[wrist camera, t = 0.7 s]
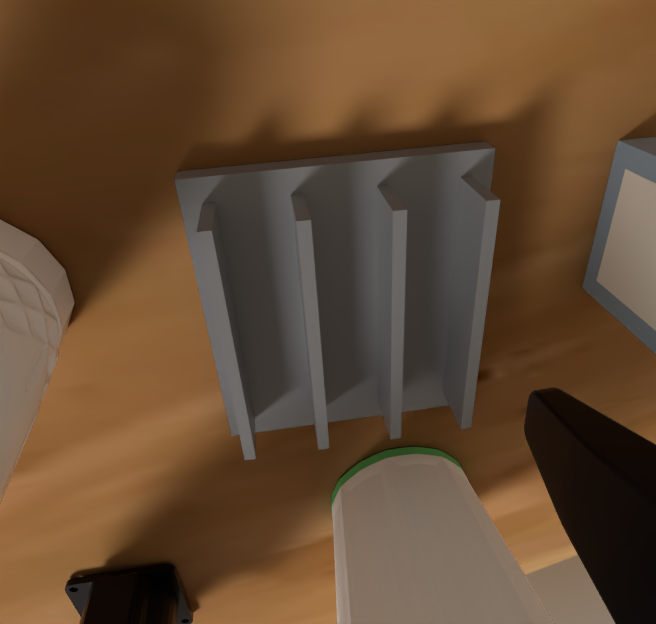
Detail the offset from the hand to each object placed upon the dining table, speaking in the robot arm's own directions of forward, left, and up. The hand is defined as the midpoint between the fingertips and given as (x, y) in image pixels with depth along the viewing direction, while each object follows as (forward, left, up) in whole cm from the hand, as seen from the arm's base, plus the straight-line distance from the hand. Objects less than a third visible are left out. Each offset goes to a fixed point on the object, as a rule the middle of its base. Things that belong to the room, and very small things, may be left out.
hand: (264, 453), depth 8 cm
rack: (-6, -3, -14) cm, 15 cm away
